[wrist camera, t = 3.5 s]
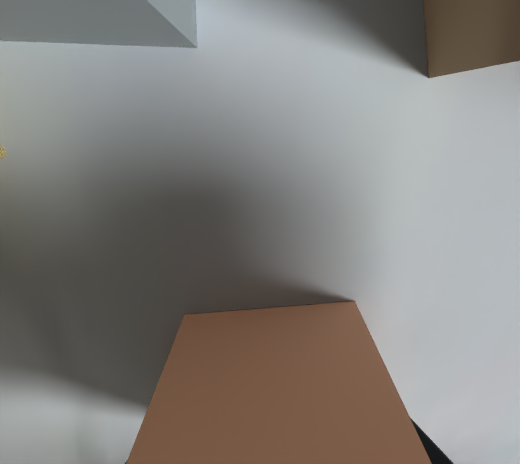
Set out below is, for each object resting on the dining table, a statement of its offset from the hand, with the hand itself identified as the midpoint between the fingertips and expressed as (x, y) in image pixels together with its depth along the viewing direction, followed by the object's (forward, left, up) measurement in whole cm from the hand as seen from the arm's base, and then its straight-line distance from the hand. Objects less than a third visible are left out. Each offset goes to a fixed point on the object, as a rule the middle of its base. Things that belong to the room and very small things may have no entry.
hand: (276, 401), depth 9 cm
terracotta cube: (0, 0, -1) cm, 1 cm away
